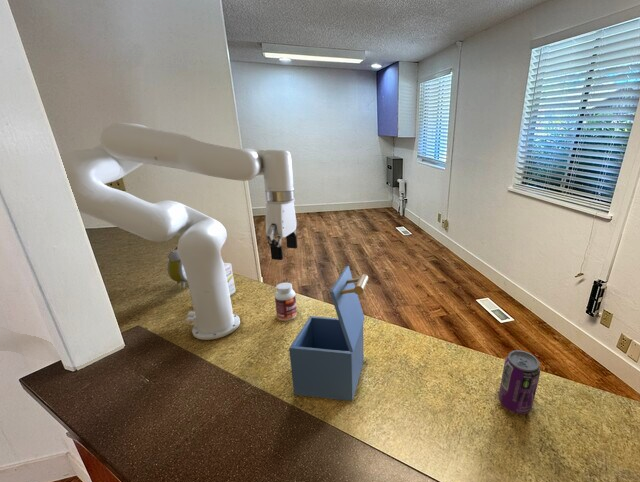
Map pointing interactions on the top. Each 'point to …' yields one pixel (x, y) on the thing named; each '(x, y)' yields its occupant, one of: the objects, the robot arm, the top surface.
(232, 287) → the ink box
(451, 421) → the top surface
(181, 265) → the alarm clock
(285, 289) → the pill bottle
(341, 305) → the lid
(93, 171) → the robot arm
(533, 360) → the beverage can
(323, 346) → the chest
